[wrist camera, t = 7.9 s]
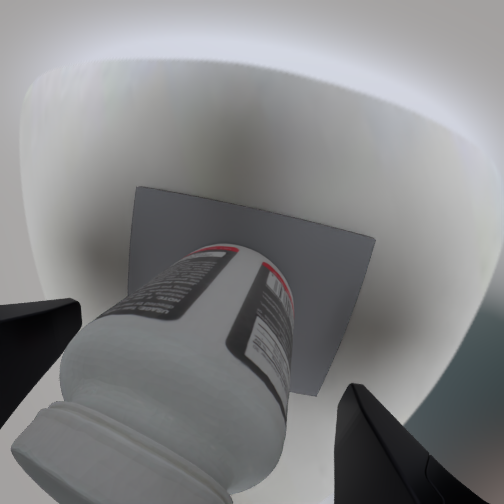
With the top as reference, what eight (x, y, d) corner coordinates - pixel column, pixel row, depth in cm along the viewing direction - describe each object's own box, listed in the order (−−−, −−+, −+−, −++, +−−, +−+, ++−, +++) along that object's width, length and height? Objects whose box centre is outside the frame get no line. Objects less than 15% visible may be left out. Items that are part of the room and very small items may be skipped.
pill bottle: (162, 329, 12) (27, 482, 3) (186, 222, 11) (-59, 335, 2) (269, 372, 12) (219, 577, 3) (315, 269, 11) (341, 557, 1)
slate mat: (316, 391, 12) (316, 396, 12) (132, 338, 13) (128, 342, 13) (373, 237, 10) (375, 239, 10) (141, 186, 11) (136, 186, 11)
